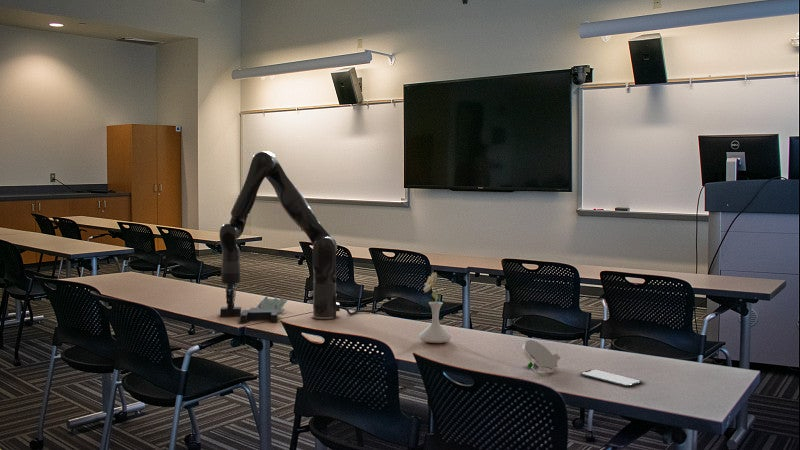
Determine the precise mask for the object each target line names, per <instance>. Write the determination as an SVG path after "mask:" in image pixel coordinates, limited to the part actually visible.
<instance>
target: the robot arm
mask: <svg viewBox="0 0 800 450" xmlns="http://www.w3.org/2000/svg"><path fill="white" fill-rule="evenodd" d="M251 158H252V159H251V162H250V165H249V169H248V172H247V176H246V178H245V181H244V183H243V186H242V187H241V190H240V192H239V194H238V196H237V198H236V200H235V202H234V205H233V207H232V208H231V210H230V215H231V216H230V220H229V222H228V223H224V224H223V225H221V227H220V229H219V236H218V237H219V241H220V242H219V243H220V246H221V276H220V277H221V279H220V280H221V284H224V285H227V286H226V287H225V299H226V301H225V303H226V305H227V306H226V307H227V313H228V314H232V313H233V307H235V301H236V297H237V295H236V294H237V293H236V292H237V287H236V285H237V284H240V283H241V257H240V256H241V251H240V247H239V246H238V245H237V240H238V239H239V238H240V237H241V236H242V235H243V232H244V230H245V227H246V223H247V219H248V217H249V216H250V214H251V211H252V210H253V208H254V205H255V203H256V199H257V195H258V192H259V189H260V187H261V185H262V183H263V181H264V180H265V179H266V180H267V181H268V182H269V184H270V185H271V186H272V188H273V190H274V192H275V194H276V197H277V199H278V201H279V203H280V205H281V207H282V209H283V210H284V211H285V213H286V214H287V216H288V217H289V218H290V219H291V221H293V222H294V223H295V224H296V226H298V228H299V229H300V230H302V231H303V232H304V233H305V235H306V236H307V238H308V239H309V241H310V242H311V244H312V272H313V273H312V274H313V277H312V278H313V280H312V281H313V285H312V286H313V288H312V291H313V292H312V293H313V294H312V300H313V301H312V318H313V319H316V320H332V319H333V320H334V319H337V312H340V311H341V310H344V311H346V312H347V315H350V316H353V315H355V314H358V313H370V314H372V313H373V314H378V310H370V309H357V310H354V311H352V312H350V310H349V308H347V307H345V306H341V304H340V302H337V266H336V265H337V261H336V260H337V250H338V245H337V244H338V243H337V242H336V240H335V238H333V236H331V234H330V233H329V232H328V231H327V230H326V229H325V228H324V226H323V225H322V224H321V222H320V221H319V219H318V217H317V216H316V214H315V212H314V211H313V209H312V208H311V206H310V205H309V203H308V201H307V200H306V199H305V197H304V196H303V194H302V193H301V192H300V191H299V189H298V187H296V185H295V184H294V183H293V182H292V180H290V178H289V177H288V175H287V174H286V172H285V170H284V169H283V167H282V165H281V163H280V161H279V160H278V158H277V156H275V154H274V153H272V152H271V151H258V152H257V153H255V154H254V155H253V157H251Z"/></svg>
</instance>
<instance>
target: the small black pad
mask: <svg viewBox="0 0 800 450" xmlns="http://www.w3.org/2000/svg"><path fill="white" fill-rule="evenodd" d="M219 313H220V315H219V316H220V317H241V313H242V306H234V307H233V313H232V314H228V313H227V306H221V307H220V312H219Z"/></svg>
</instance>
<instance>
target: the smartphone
mask: <svg viewBox="0 0 800 450" xmlns="http://www.w3.org/2000/svg"><path fill="white" fill-rule="evenodd" d="M579 375H581V376H585V377H588V378H591V379H596V380H600V381H604V382H608V383H612V384H616V385H619V386H624V387H632V386H635V385H637V384H638V385H639V384H641V383H642V380H641V379H637V378H632V377H628V376H626V375H621V374H617V373H613V372H609V371H605V370H601V369H595V368H591V369H588V370H584V371H581V372H580V374H579Z"/></svg>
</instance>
